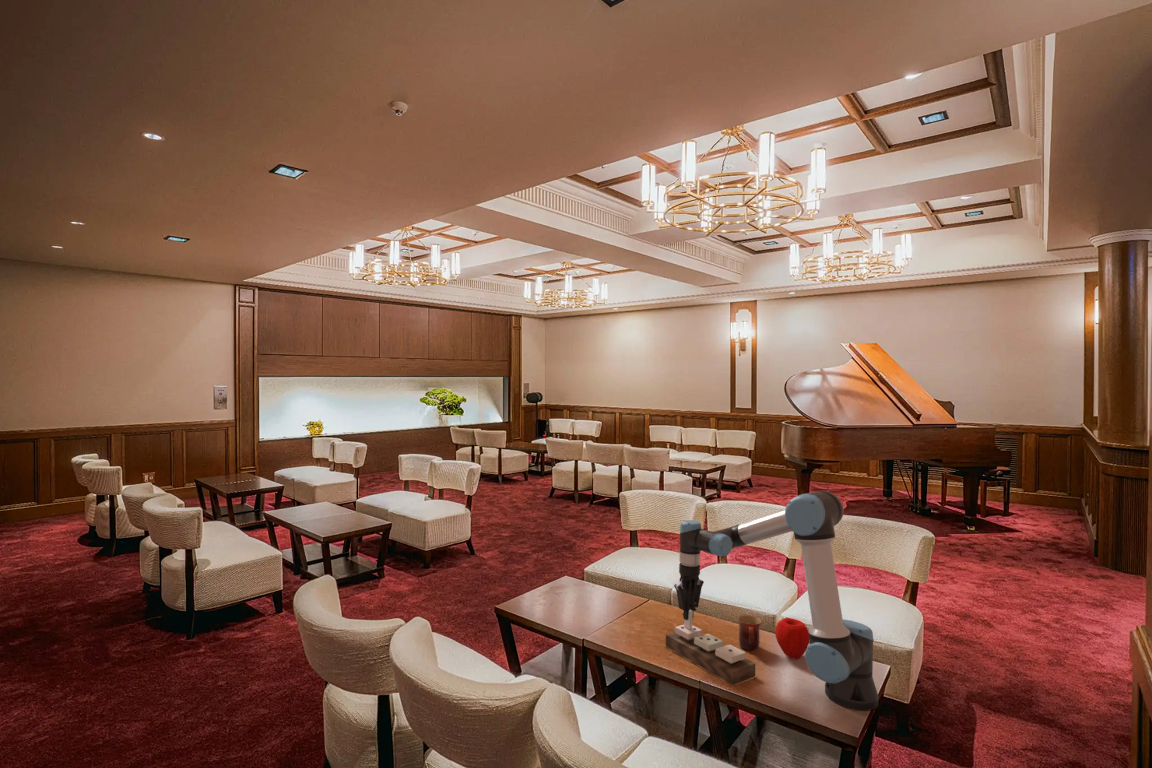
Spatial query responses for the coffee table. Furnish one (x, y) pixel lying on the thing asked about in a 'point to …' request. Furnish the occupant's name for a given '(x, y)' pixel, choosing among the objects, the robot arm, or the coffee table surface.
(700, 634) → the tile
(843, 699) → the robot arm
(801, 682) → the coffee table surface
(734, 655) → the tile
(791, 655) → the apple
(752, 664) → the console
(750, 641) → the mug
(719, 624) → the coffee table surface
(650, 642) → the coffee table surface
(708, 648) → the three-pip tile
